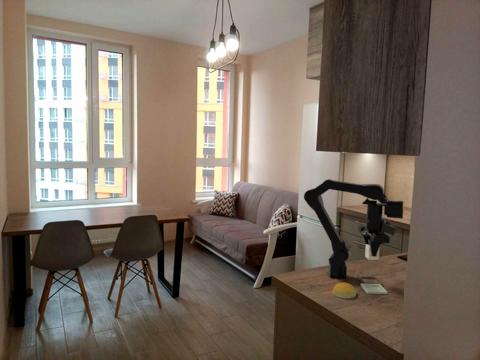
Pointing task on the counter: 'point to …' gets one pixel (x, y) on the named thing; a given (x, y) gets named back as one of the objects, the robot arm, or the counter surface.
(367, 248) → the letter block
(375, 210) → the robot arm
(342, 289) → the bread roll
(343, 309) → the counter surface
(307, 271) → the counter surface
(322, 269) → the counter surface
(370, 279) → the walnut tray
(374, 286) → the green tray
